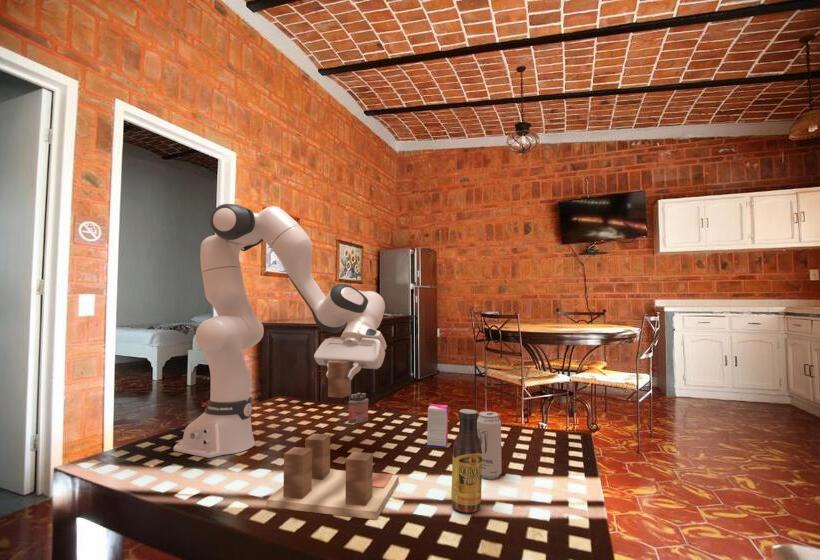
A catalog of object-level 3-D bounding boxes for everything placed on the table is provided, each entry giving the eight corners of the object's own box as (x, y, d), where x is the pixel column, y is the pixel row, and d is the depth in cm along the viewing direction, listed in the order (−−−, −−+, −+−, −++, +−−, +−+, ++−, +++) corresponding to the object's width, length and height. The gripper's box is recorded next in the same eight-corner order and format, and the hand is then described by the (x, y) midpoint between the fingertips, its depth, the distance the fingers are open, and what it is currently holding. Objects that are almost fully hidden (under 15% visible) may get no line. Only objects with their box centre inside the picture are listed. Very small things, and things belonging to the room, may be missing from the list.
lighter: (365, 418, 157) (365, 391, 158) (370, 420, 155) (370, 392, 155) (346, 422, 152) (346, 393, 153) (351, 424, 150) (351, 395, 150)
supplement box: (446, 448, 125) (446, 409, 125) (426, 447, 126) (426, 407, 127) (448, 442, 130) (448, 404, 131) (429, 440, 132) (429, 403, 132)
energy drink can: (471, 474, 106) (471, 413, 106) (487, 468, 109) (487, 409, 110) (491, 482, 101) (490, 418, 102) (506, 475, 105) (506, 414, 106)
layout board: (266, 506, 89) (267, 455, 89) (305, 473, 106) (306, 430, 107) (376, 519, 83) (376, 465, 84) (398, 482, 101) (398, 437, 102)
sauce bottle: (458, 516, 85) (457, 415, 86) (446, 502, 91) (446, 408, 92) (488, 512, 86) (487, 413, 88) (474, 498, 92) (474, 406, 94)
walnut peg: (327, 396, 111) (328, 362, 112) (336, 393, 116) (337, 360, 116) (342, 398, 110) (342, 363, 110) (350, 394, 114) (351, 361, 114)
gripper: (322, 329, 124) (301, 367, 114) (385, 331, 116) (368, 373, 107) (330, 343, 128) (310, 381, 118) (392, 346, 120) (376, 387, 110)
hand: (338, 377), depth 112 cm, fingers closed on walnut peg, 4 cm apart
